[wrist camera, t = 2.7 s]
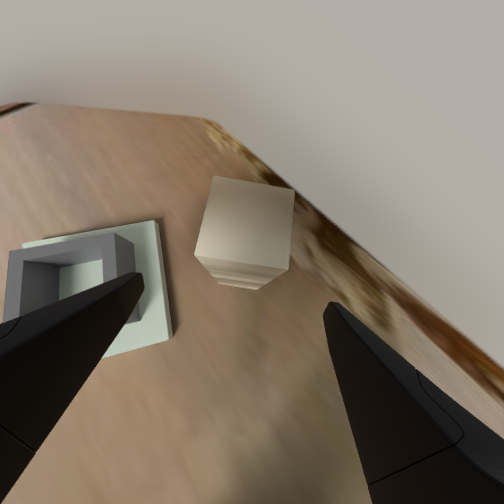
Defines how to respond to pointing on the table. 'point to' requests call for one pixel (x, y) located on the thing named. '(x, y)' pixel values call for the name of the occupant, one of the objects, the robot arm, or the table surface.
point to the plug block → (246, 232)
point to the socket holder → (94, 277)
